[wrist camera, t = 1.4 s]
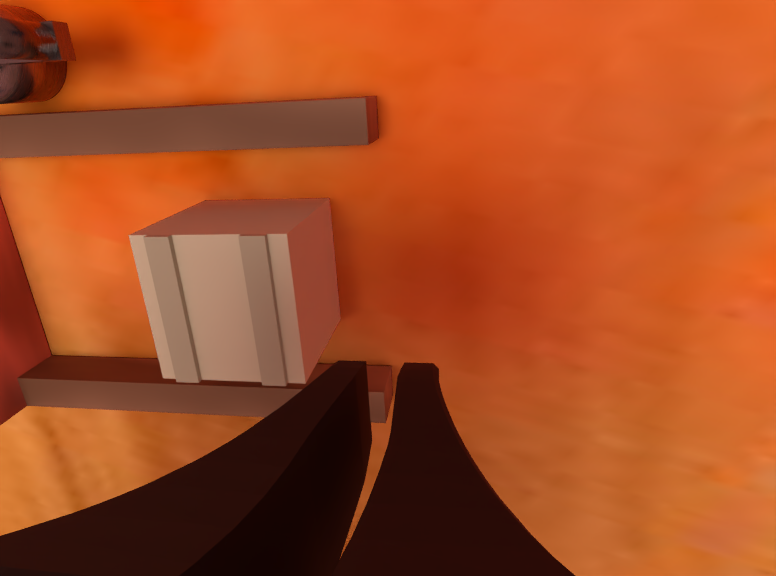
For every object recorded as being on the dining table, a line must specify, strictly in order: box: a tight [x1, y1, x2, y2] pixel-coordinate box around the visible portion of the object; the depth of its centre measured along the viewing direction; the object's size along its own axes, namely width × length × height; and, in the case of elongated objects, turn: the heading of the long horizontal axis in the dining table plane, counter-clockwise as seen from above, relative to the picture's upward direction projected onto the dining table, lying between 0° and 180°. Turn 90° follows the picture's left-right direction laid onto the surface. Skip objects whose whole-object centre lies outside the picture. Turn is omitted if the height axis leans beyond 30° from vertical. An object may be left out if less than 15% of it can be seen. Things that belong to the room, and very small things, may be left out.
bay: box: [0, 96, 393, 425], centre depth 20 cm, size 12×17×4 cm
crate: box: [129, 198, 341, 386], centre depth 18 cm, size 5×5×5 cm
